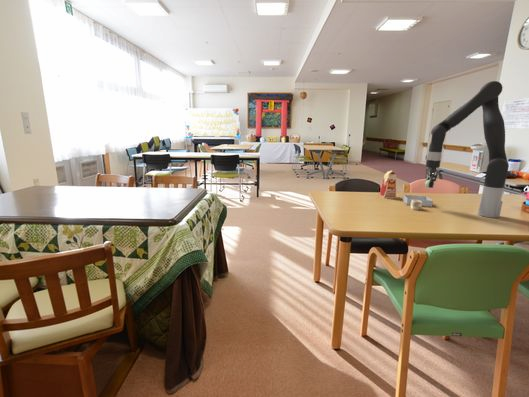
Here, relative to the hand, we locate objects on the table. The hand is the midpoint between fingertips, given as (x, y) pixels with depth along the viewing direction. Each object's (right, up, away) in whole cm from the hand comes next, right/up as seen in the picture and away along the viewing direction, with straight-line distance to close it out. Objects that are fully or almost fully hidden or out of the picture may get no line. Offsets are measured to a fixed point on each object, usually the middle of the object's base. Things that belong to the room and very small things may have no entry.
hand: (429, 186), depth 182 cm
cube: (-8, -14, 0) cm, 16 cm away
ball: (0, -1, 0) cm, 1 cm away
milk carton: (-13, -6, +30) cm, 34 cm away
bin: (-1, -11, +13) cm, 17 cm away
